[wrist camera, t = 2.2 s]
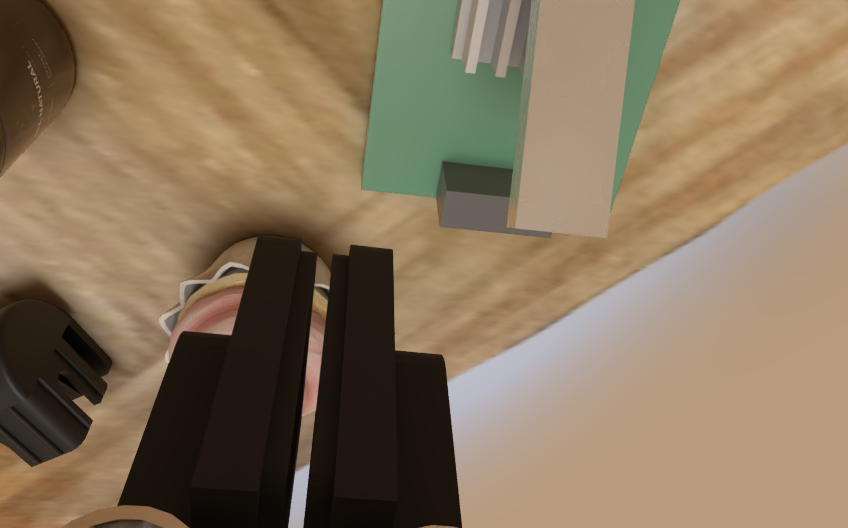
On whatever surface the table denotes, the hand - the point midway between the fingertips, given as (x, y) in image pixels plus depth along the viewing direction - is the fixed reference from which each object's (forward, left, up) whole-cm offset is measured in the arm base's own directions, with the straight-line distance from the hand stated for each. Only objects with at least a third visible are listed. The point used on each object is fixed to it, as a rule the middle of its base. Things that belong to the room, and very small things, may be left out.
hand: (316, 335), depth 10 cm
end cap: (+23, -17, -25) cm, 38 cm away
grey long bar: (-1, +7, -17) cm, 19 cm away
